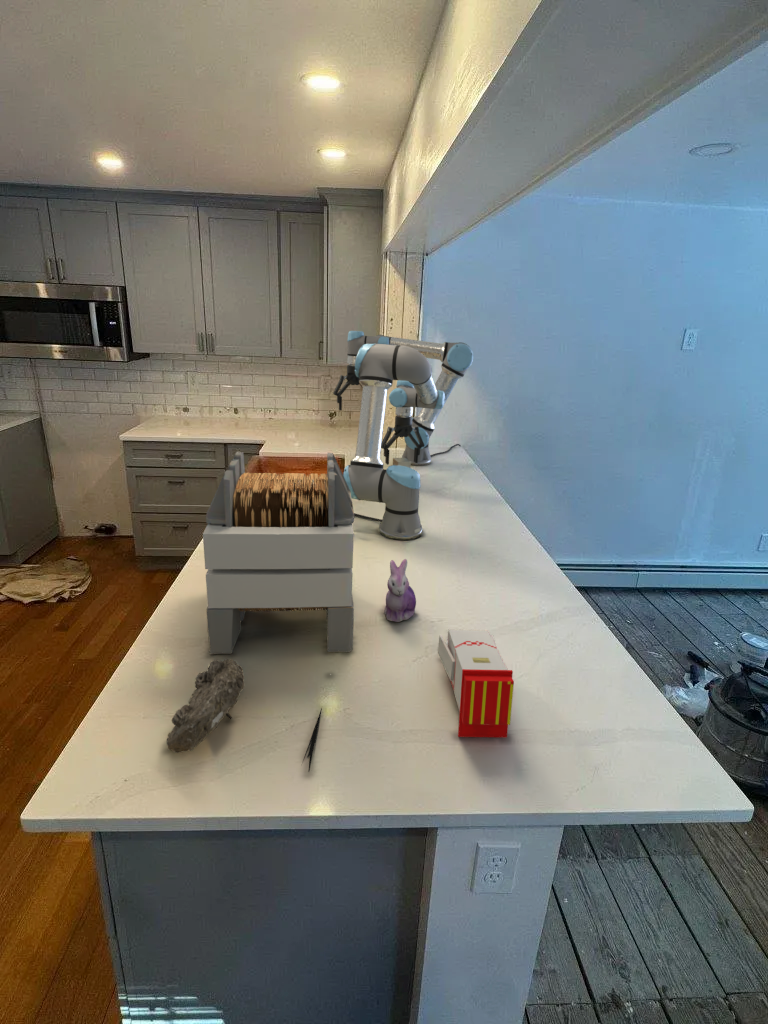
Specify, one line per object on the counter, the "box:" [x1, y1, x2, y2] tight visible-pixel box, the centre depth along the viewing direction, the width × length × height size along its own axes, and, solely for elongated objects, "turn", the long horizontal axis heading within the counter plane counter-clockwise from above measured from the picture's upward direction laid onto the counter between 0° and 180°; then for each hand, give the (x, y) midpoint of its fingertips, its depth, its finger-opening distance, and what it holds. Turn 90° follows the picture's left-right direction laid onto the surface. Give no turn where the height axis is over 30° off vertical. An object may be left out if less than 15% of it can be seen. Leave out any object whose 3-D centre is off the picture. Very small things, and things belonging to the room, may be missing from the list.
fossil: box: [166, 658, 245, 754], centre depth 106 cm, size 22×10×15 cm
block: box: [392, 457, 411, 468], centre depth 255 cm, size 6×7×11 cm
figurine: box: [384, 558, 417, 623], centre depth 145 cm, size 9×10×15 cm
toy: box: [437, 628, 515, 738], centre depth 117 cm, size 12×13×30 cm
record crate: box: [202, 451, 355, 655], centre depth 137 cm, size 34×33×41 cm
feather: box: [301, 673, 332, 771], centre depth 108 cm, size 2×28×2 cm
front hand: (401, 463), depth 254 cm, fingers open, 13 cm apart
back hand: (353, 409), depth 276 cm, fingers open, 13 cm apart
